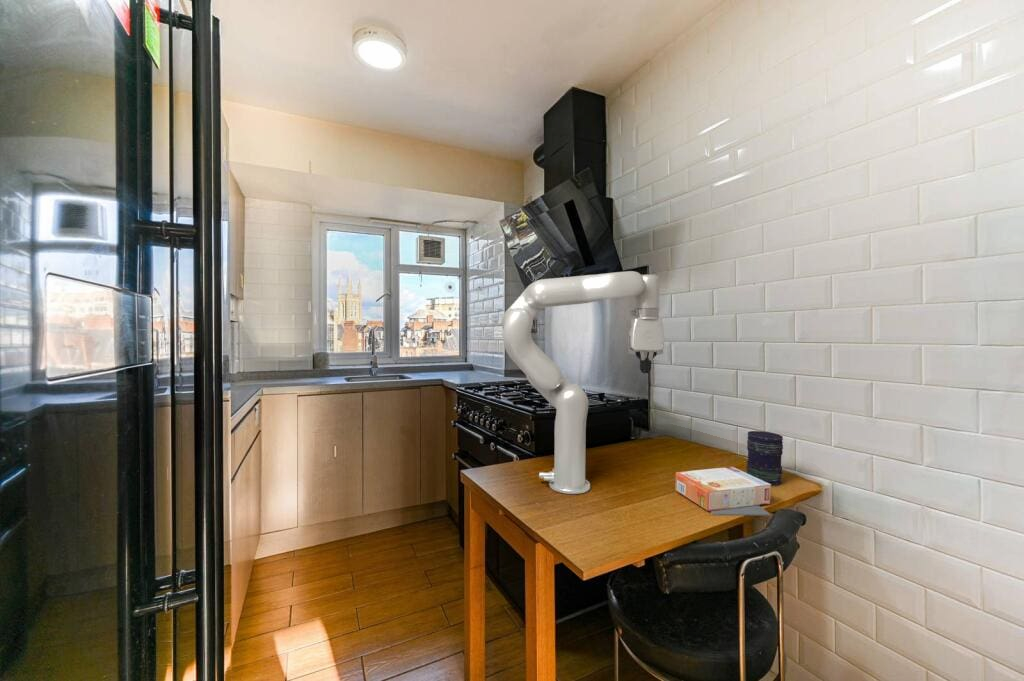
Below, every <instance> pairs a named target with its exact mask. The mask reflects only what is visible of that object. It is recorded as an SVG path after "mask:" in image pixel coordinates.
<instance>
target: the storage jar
mask: <svg viewBox="0 0 1024 681" xmlns="http://www.w3.org/2000/svg"><path fill="white" fill-rule="evenodd" d="M783 438H784V437H783V435H780V434H778V433H775V432H771V431H770V432H769V431H761V430H760V431H759V430H752V431H751V430H750V431H748V432H747V440H746V445H747V446H746V448H747V461H746V466H745V467H746V473H747V474H750V475H752V476H754V477H756V478H758V479H760V480H763V481H765V482H767V483H769V484H771V487H780V486H781V485H782V477H783V465H782V455H783V449H784V445H783V444H784V443H783V441H784V439H783Z"/></svg>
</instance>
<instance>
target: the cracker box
mask: <svg viewBox="0 0 1024 681" xmlns="http://www.w3.org/2000/svg"><path fill="white" fill-rule="evenodd" d="M771 489H772V486H771V484H769V483H767V482H765V481H763V480H760V479H758V478H756V477H754V476H752V475H750V474H747V472H745V471H743V470H741V469H738V468H736V467H734V466H727V467H717V468H708V469H707V468H706V469H696V470H686V471H685V470H684V471H675V489H674V490H675V492H678V493H679V494H681V495H682V496H684V497H685V498H687V499H688V500H689V501H692V502H693V503H695V504H696V505H697V506H700V507H701V508H702V509H704V510H706V511H707V512H710V511H713V510H721V509H729V508H737V507H745V506H753V505H759V506H761V505H767V504H771Z"/></svg>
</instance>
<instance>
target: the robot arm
mask: <svg viewBox="0 0 1024 681" xmlns="http://www.w3.org/2000/svg"><path fill="white" fill-rule="evenodd" d="M660 281H661V280H660V277H659V276H658V275H656V274H641V273H640V272H638V271H635V270H634V271H633V270H628V271H616V272H608V273H598V274H587V275H586V274H585V275H575V276H567V277H566V276H565V277H564V276H563V277H553V278H543V279H538V280H536V281H533V282H532V283H530V284H529V285H528V286H526V288H525V289H524V291H522V293H521V294H520V295H519V296H518V298H517V299H515V300H514V302H513V303H512V304H511V305H510V306H509V307H508V309H507V310H505V312H504V313H503V315H502V317H501V320H500V322H501V327H502V329H503V330H502V331H503V332H502V338H503V340H502V341H503V342H502V343H503V345H504V346H503V347H504V350H505V351H506V354H507V355H508V356H509V358H510V359H511V361H513V363H514V364H515V365H517V367H518V368H519V369H520V370H521V372H522V373H524V374H525V376H526V379H527V381H528V382H529V384H531V386H532V387H533V388H534V389H535V390H536V391H537V392H538V393H540V395H541V396H542V398H544V399H545V400H546V401H547V402H548V403H550V405H551V406H553V407H554V408H555V409H556V410H555V412H556V413H555V414H556V415H555V419H554V447H553V449H554V451H553V452H554V455H553V456H554V458H553V460H554V461H553V462H554V463H553V465H554V466H553V467H554V468H552V471H548V472H545V471H539V472H538V478H539V479H543V481H544V482H545V481H547V482H548V485H549V487H550V489H551V490H553V491H555V492H558V493H561V494H567V495H578V494H579V495H580V494H584V493H587V492H588V491H589V490H590V489H591V483H590V481H588V479H586V449H587V448H586V445H587V444H586V442H587V438H586V437H587V436H586V434H587V433H586V432H587V431H586V429H587V417H588V412H589V398H588V395H587V394H586V392H585V390H584V389H583V388H581V387H580V386H579V385H576V384H574V383H572V382H570V381H569V380H568V379H567V378H566V377H565V376H564V375H563V374H562V371H561V369H560V367H559V366H558V365H557V364H556V363H555V362H554V361H553V360H552V359H550V358H549V356H547V354H546V353H545V352H544V351H543V350H542V349H541V348H540V347H539V346H538V345H537V344H536V343H535V341H534V339H533V337H532V329H533V325H534V324H533V323H534V319H536V317H537V316H538V315H539V313H540V312H541V311H542V310H543V309H544V308H551V307H553V308H554V307H561V306H562V307H563V306H572V305H582V304H589V303H594V302H598V301H602V300H609V299H629V298H633V309H631V310H629V312H628V314H629V316H632V317H633V318H631V321H630V324H629V332H628V351H627V353H628V354H630V355H634V356H636V357H637V359H639V370H640V372H641V373H643V374H650V371H651V369H652V361H653V359H654V358H655V357H656V356H660V355H663V354H664V349H665V333H664V332H665V331H664V324H663V319H662V318H660V284H661V283H660ZM645 352H646V355H645Z"/></svg>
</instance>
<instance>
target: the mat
mask: <svg viewBox="0 0 1024 681" xmlns="http://www.w3.org/2000/svg"><path fill="white" fill-rule="evenodd" d="M709 512H710V514H712V515H713V516H758V517H759V516H762V517H763V516H771V513H770V512H768V511H767V510H765V508H763V507H762V506H761V505H753V506H745V507H737V508H729V509H721V510H713V511H709Z"/></svg>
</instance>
